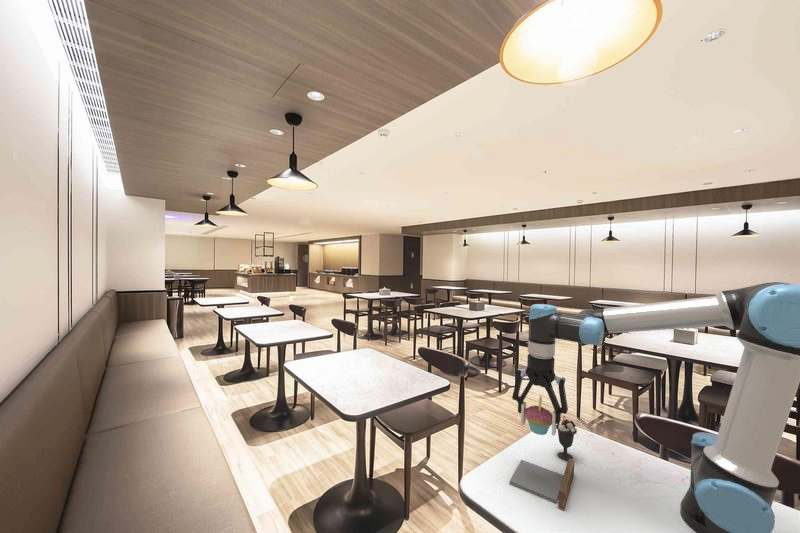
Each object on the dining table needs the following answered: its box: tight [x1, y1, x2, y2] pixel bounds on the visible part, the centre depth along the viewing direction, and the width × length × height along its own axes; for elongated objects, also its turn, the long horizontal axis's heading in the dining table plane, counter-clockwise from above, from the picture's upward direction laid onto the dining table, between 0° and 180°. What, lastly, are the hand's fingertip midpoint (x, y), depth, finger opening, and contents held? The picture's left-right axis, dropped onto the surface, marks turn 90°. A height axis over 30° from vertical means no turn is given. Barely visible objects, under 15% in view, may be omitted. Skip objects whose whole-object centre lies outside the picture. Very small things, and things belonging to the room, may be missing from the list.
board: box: [509, 459, 564, 505], centre depth 99 cm, size 13×13×1 cm
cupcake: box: [524, 395, 553, 436], centre depth 99 cm, size 9×8×12 cm
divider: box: [557, 458, 575, 512], centre depth 95 cm, size 2×18×5 cm, turn 144°
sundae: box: [556, 415, 578, 462], centre depth 111 cm, size 7×7×15 cm
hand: (538, 428), depth 99 cm, fingers closed on cupcake, 8 cm apart
